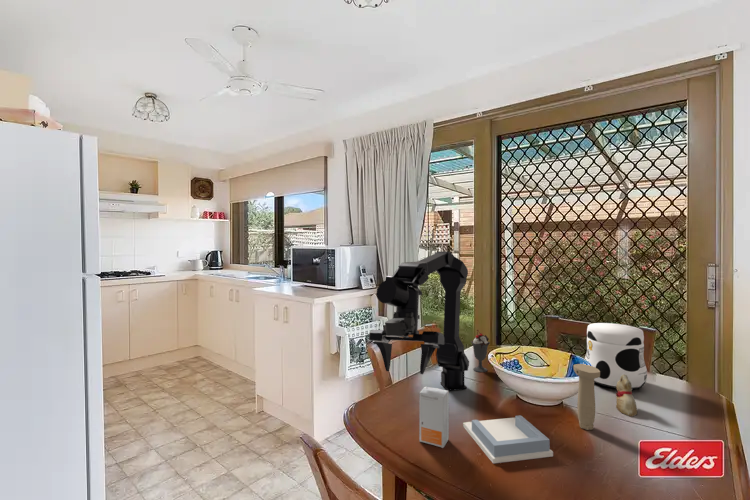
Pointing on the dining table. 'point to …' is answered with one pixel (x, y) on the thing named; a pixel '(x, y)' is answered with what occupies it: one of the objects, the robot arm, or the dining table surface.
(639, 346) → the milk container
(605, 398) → the dining table surface
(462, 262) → the robot arm
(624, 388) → the chocolate bunny
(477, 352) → the sundae
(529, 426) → the stop cradle
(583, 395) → the handle
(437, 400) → the skincare box
